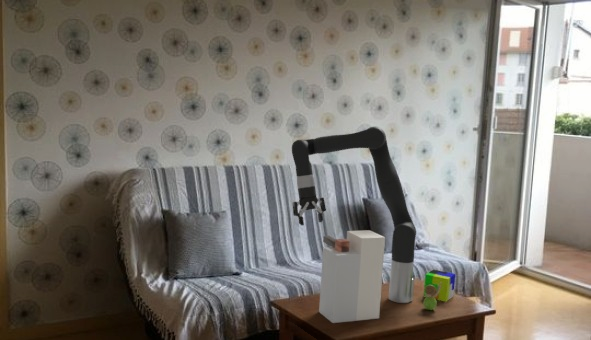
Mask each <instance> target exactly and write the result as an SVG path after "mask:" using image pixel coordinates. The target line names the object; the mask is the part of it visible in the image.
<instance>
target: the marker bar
mask: <svg viewBox="0 0 591 340" xmlns="http://www.w3.org/2000/svg"><path fill="white" fill-rule="evenodd" d="M322 240H323V243H324V244H327V245H328V246H329V247H333V248H335V250H337V251H338V252H349V243H350V241H348V240H347V238H334V237H332V236H330V235H323V239H322Z"/></svg>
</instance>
